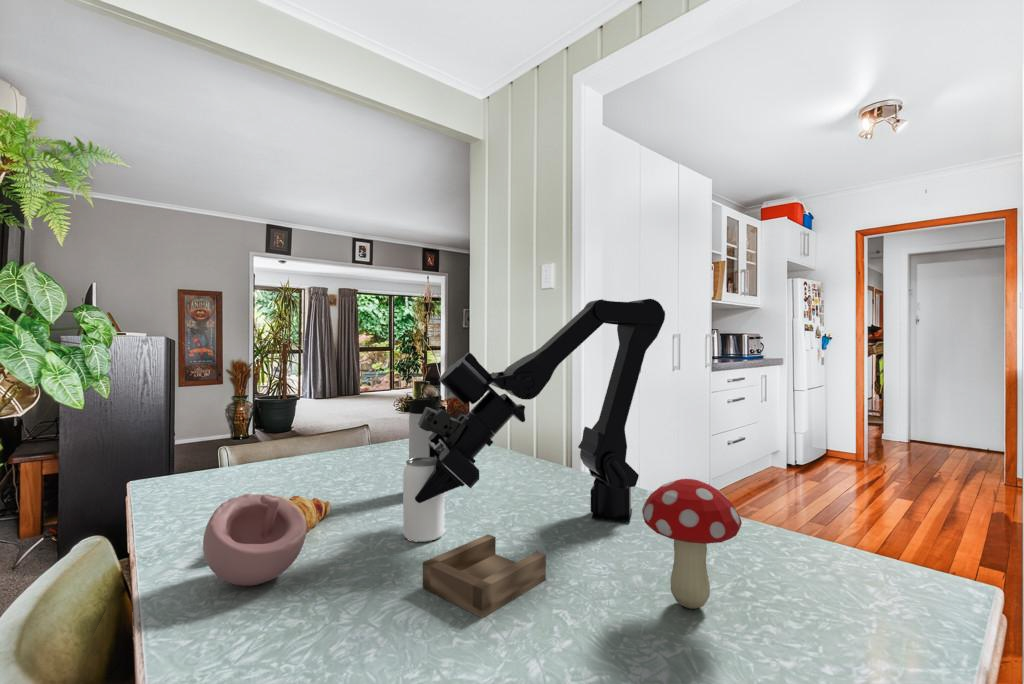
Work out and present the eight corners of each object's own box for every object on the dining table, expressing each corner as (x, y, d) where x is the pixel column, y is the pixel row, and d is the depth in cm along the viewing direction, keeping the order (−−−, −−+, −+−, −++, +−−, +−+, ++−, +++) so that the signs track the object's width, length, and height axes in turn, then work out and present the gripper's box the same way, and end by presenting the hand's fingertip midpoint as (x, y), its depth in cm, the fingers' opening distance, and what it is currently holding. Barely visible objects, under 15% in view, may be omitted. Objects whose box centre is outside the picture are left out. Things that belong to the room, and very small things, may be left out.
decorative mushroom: (647, 577, 66) (648, 464, 66) (739, 593, 62) (740, 473, 62) (634, 621, 56) (634, 487, 56) (743, 644, 52) (744, 499, 52)
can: (451, 530, 83) (450, 457, 83) (432, 545, 77) (432, 467, 76) (416, 525, 85) (416, 455, 85) (395, 540, 79) (395, 464, 79)
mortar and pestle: (240, 614, 58) (240, 515, 58) (183, 589, 64) (182, 499, 63) (325, 572, 68) (325, 488, 68) (269, 553, 74) (269, 476, 74)
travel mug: (435, 498, 99) (435, 397, 99) (404, 496, 100) (403, 397, 100) (445, 489, 105) (445, 394, 105) (416, 487, 107) (416, 393, 106)
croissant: (317, 531, 91) (302, 490, 93) (355, 512, 88) (339, 470, 90) (204, 580, 72) (188, 527, 74) (247, 558, 69) (229, 503, 70)
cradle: (487, 556, 73) (487, 534, 73) (545, 579, 66) (545, 554, 66) (422, 588, 64) (422, 562, 64) (482, 618, 57) (482, 589, 57)
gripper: (440, 384, 91) (377, 449, 88) (457, 396, 73) (378, 478, 70) (483, 426, 93) (423, 490, 90) (509, 447, 75) (435, 528, 72)
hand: (415, 495), depth 80 cm, fingers closed on can, 6 cm apart
